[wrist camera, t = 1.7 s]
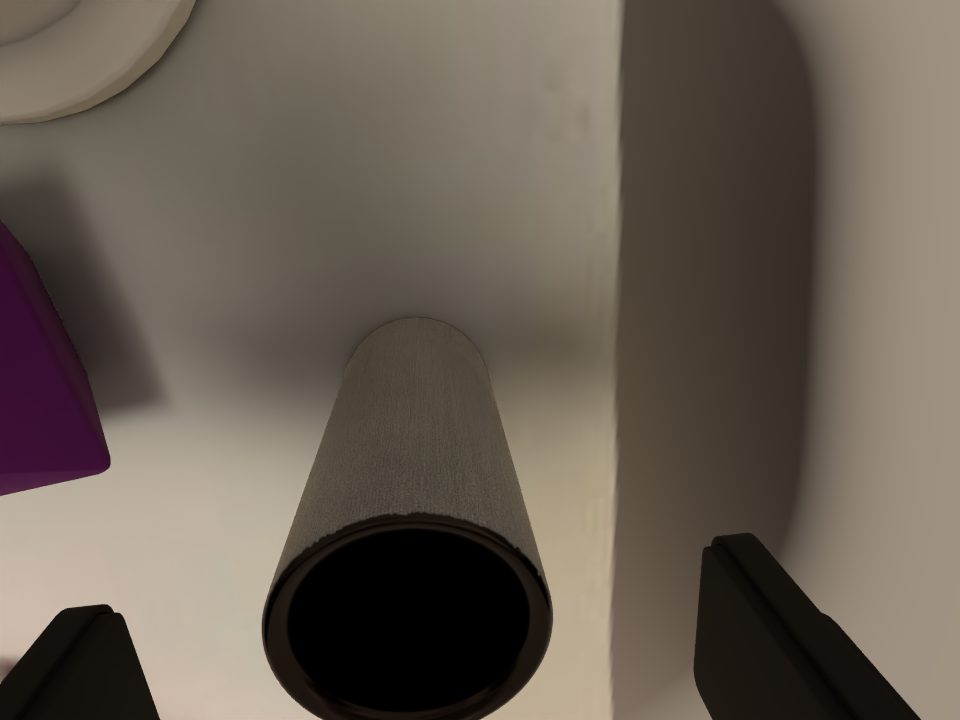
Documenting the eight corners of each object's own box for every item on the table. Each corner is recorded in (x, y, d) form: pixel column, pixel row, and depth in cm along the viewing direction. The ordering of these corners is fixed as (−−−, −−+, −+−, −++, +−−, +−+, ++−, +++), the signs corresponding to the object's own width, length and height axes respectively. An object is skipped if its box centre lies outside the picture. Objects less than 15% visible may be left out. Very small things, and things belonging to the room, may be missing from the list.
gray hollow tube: (327, 421, 19) (224, 712, 9) (373, 294, 17) (311, 476, 8) (456, 462, 20) (488, 764, 10) (509, 345, 18) (604, 562, 9)
